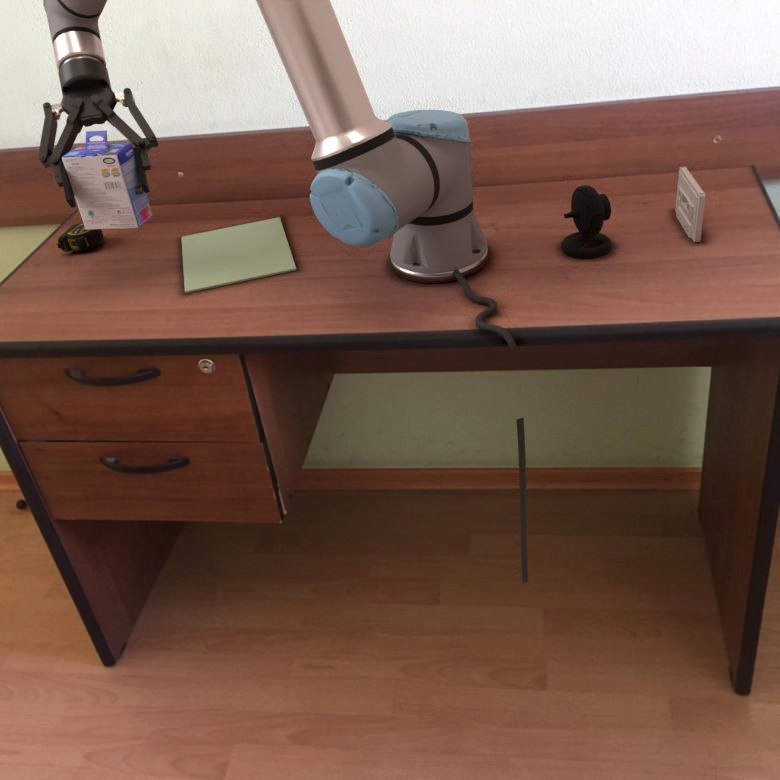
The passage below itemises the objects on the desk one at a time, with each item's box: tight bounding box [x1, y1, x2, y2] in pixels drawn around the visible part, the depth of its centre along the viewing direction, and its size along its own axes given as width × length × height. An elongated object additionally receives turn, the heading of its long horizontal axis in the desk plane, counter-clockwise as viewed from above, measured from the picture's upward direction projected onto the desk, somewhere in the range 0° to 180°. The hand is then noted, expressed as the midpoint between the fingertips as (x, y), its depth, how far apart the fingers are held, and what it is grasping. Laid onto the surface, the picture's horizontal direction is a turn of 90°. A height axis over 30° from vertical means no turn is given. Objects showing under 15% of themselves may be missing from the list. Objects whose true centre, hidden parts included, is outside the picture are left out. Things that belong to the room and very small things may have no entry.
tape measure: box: [56, 222, 104, 252], centre depth 151 cm, size 7×7×4 cm
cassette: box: [675, 165, 707, 243], centre depth 129 cm, size 12×2×8 cm, turn 178°
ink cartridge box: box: [62, 130, 154, 230], centre depth 130 cm, size 10×6×14 cm, turn 79°
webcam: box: [561, 184, 612, 259], centre depth 126 cm, size 8×8×10 cm
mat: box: [181, 216, 297, 294], centre depth 142 cm, size 22×18×1 cm
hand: (108, 196), depth 129 cm, fingers closed on ink cartridge box, 11 cm apart
